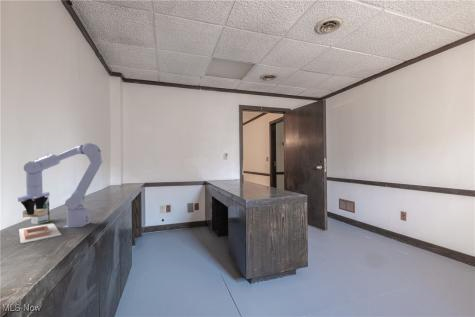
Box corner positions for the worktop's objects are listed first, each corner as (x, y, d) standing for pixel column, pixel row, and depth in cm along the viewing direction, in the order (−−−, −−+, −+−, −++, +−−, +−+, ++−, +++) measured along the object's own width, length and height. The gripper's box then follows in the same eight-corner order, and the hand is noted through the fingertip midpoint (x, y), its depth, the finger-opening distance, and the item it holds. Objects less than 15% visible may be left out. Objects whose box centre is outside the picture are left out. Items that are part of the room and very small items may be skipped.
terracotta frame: (24, 233, 99) (23, 229, 99) (46, 228, 105) (46, 225, 105) (25, 239, 91) (25, 236, 91) (49, 234, 97) (49, 231, 97)
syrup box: (37, 224, 113) (36, 197, 113) (30, 223, 115) (30, 197, 115) (49, 221, 118) (49, 195, 118) (43, 220, 120) (43, 195, 120)
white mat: (53, 223, 115) (53, 223, 115) (61, 235, 97) (61, 234, 97) (18, 229, 105) (18, 229, 105) (20, 244, 87) (20, 243, 87)
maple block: (46, 214, 107) (46, 208, 107) (39, 216, 103) (39, 210, 103) (30, 214, 106) (30, 208, 106) (22, 217, 102) (22, 210, 102)
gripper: (39, 184, 112) (40, 209, 112) (10, 188, 97) (11, 217, 97) (53, 183, 112) (53, 209, 112) (26, 187, 97) (27, 217, 97)
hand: (35, 213), depth 104 cm, fingers closed on maple block, 4 cm apart
